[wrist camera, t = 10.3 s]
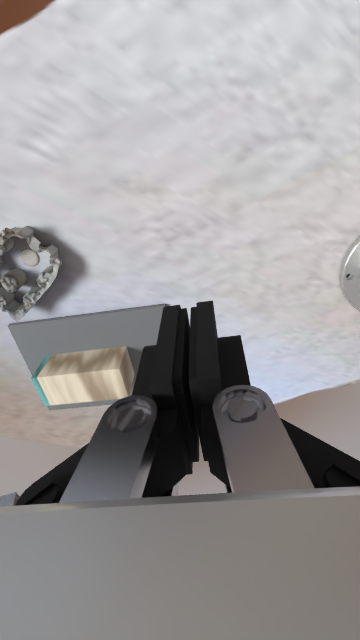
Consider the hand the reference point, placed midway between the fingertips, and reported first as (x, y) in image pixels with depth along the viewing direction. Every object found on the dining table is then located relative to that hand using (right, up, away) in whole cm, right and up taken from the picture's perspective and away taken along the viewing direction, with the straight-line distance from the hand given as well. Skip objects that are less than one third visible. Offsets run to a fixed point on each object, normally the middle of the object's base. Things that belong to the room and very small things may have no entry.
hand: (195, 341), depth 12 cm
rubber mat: (-12, -5, +38) cm, 40 cm away
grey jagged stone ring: (-20, +7, +31) cm, 38 cm away
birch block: (-8, -6, +34) cm, 36 cm away
